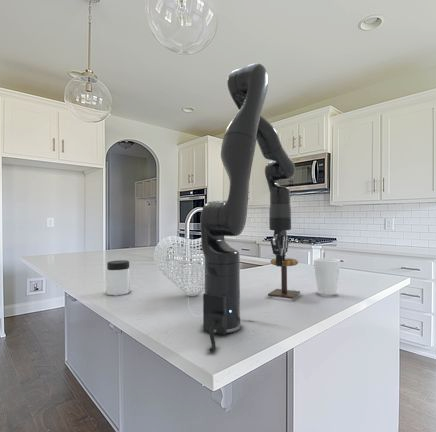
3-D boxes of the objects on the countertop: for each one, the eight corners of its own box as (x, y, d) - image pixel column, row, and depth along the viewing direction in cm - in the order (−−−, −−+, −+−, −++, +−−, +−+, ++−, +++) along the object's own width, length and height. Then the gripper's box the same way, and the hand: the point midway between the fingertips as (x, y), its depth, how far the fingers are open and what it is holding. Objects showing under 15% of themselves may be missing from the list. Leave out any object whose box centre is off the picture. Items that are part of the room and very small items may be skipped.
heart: (228, 290, 122) (228, 234, 122) (232, 300, 106) (232, 236, 106) (157, 291, 120) (157, 234, 120) (150, 302, 104) (150, 237, 104)
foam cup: (345, 295, 112) (345, 260, 112) (329, 299, 107) (329, 262, 107) (324, 290, 120) (323, 257, 120) (308, 294, 115) (308, 259, 115)
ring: (293, 267, 105) (293, 262, 105) (266, 265, 109) (266, 260, 109) (300, 263, 113) (300, 258, 113) (276, 261, 118) (276, 257, 118)
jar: (126, 289, 124) (126, 259, 124) (133, 293, 118) (133, 261, 118) (103, 292, 119) (103, 261, 119) (109, 296, 112) (109, 264, 112)
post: (292, 301, 105) (292, 261, 105) (268, 297, 109) (267, 260, 110) (300, 295, 113) (299, 258, 113) (276, 292, 117) (276, 257, 117)
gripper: (276, 216, 116) (277, 262, 116) (262, 216, 104) (263, 267, 104) (296, 216, 112) (296, 263, 112) (284, 216, 100) (284, 269, 100)
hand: (280, 265), depth 108 cm, fingers closed on ring, 2 cm apart
